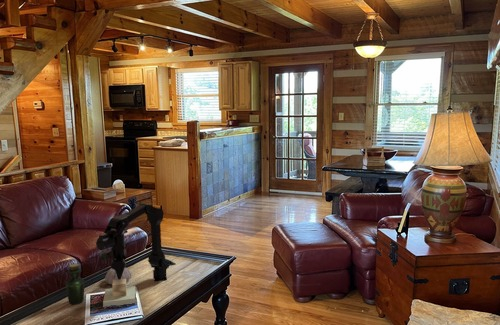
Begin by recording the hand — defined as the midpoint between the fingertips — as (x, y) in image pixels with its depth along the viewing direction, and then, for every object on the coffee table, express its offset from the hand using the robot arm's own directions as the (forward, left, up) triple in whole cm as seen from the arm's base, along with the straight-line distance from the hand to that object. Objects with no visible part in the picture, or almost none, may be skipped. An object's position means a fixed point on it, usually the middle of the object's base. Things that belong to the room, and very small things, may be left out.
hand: (119, 275), depth 187 cm
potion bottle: (+20, -3, -12) cm, 24 cm away
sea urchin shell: (+2, -22, -12) cm, 26 cm away
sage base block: (0, +1, -12) cm, 12 cm away
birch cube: (0, +1, -9) cm, 9 cm away
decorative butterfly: (-23, -38, -13) cm, 46 cm away
